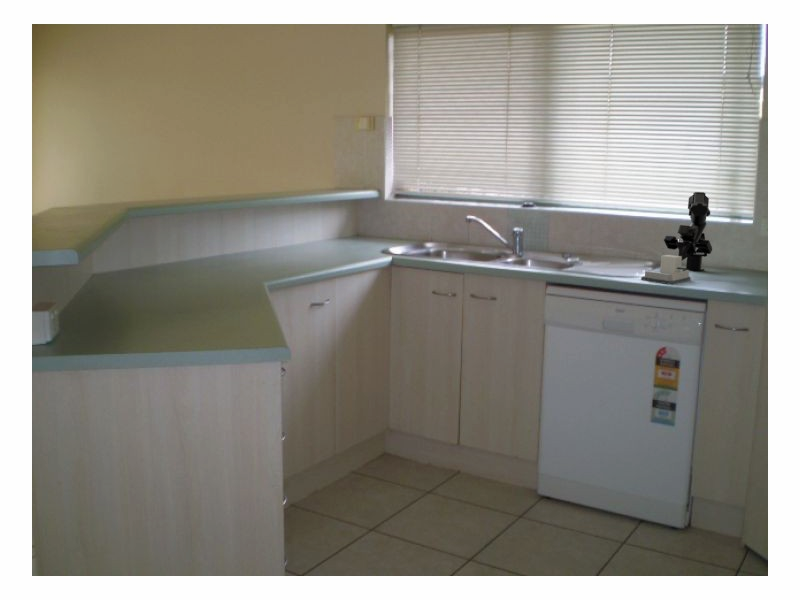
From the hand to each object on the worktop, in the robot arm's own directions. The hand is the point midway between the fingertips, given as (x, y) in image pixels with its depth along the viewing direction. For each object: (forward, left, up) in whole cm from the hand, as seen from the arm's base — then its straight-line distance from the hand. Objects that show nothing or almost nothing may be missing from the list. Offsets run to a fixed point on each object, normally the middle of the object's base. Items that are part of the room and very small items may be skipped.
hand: (679, 260), depth 354 cm
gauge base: (+10, +1, -7) cm, 12 cm away
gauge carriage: (+6, +2, -5) cm, 8 cm away
